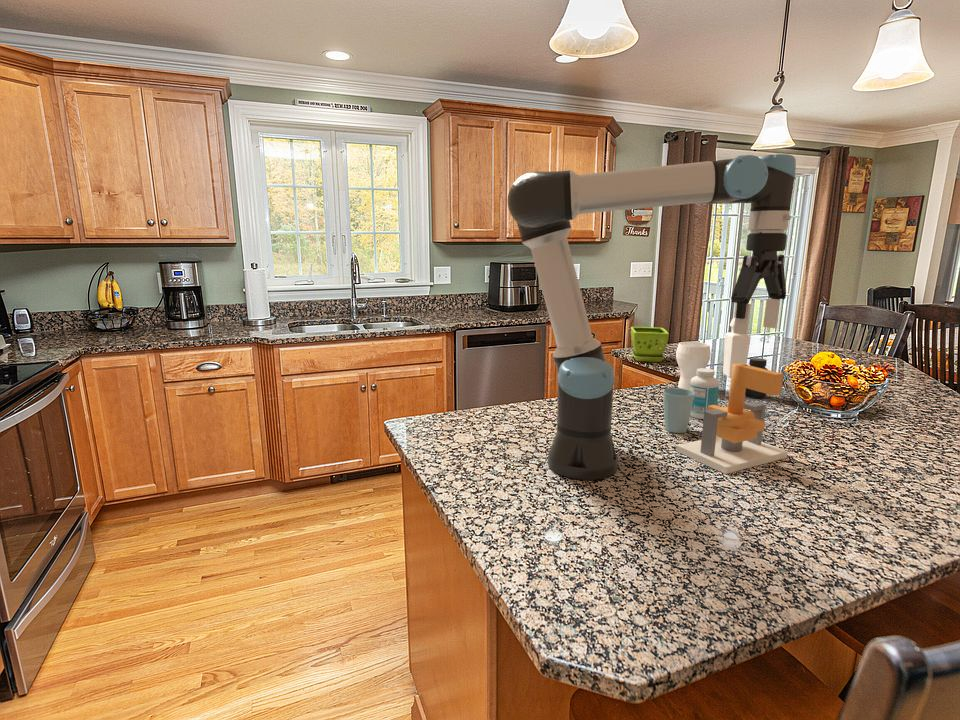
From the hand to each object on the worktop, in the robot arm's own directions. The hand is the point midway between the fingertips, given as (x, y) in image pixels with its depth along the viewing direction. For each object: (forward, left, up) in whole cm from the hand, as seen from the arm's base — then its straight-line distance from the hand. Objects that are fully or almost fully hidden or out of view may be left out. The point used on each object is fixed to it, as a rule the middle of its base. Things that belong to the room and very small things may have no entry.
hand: (755, 330), depth 118 cm
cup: (-2, +19, -29) cm, 35 cm away
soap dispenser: (+60, +52, -29) cm, 85 cm away
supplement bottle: (+44, +31, -30) cm, 62 cm away
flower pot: (+51, +87, -30) cm, 105 cm away
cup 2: (+33, +47, -29) cm, 65 cm away
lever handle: (-3, 0, -25) cm, 25 cm away
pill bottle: (+13, +24, -30) cm, 40 cm away
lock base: (-3, +1, -29) cm, 29 cm away
